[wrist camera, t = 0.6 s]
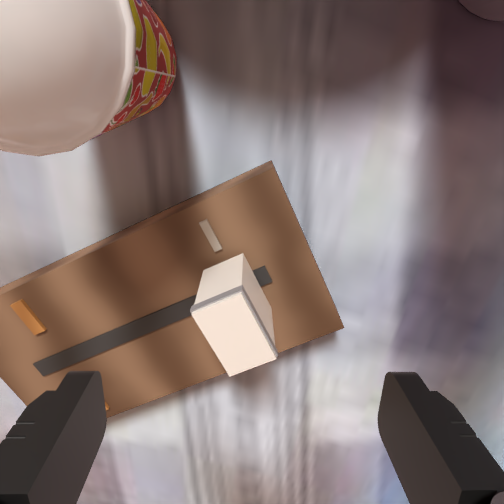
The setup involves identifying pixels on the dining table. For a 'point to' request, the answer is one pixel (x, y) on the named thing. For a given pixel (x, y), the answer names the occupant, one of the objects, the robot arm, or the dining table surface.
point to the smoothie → (78, 70)
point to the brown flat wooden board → (160, 296)
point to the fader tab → (235, 316)
